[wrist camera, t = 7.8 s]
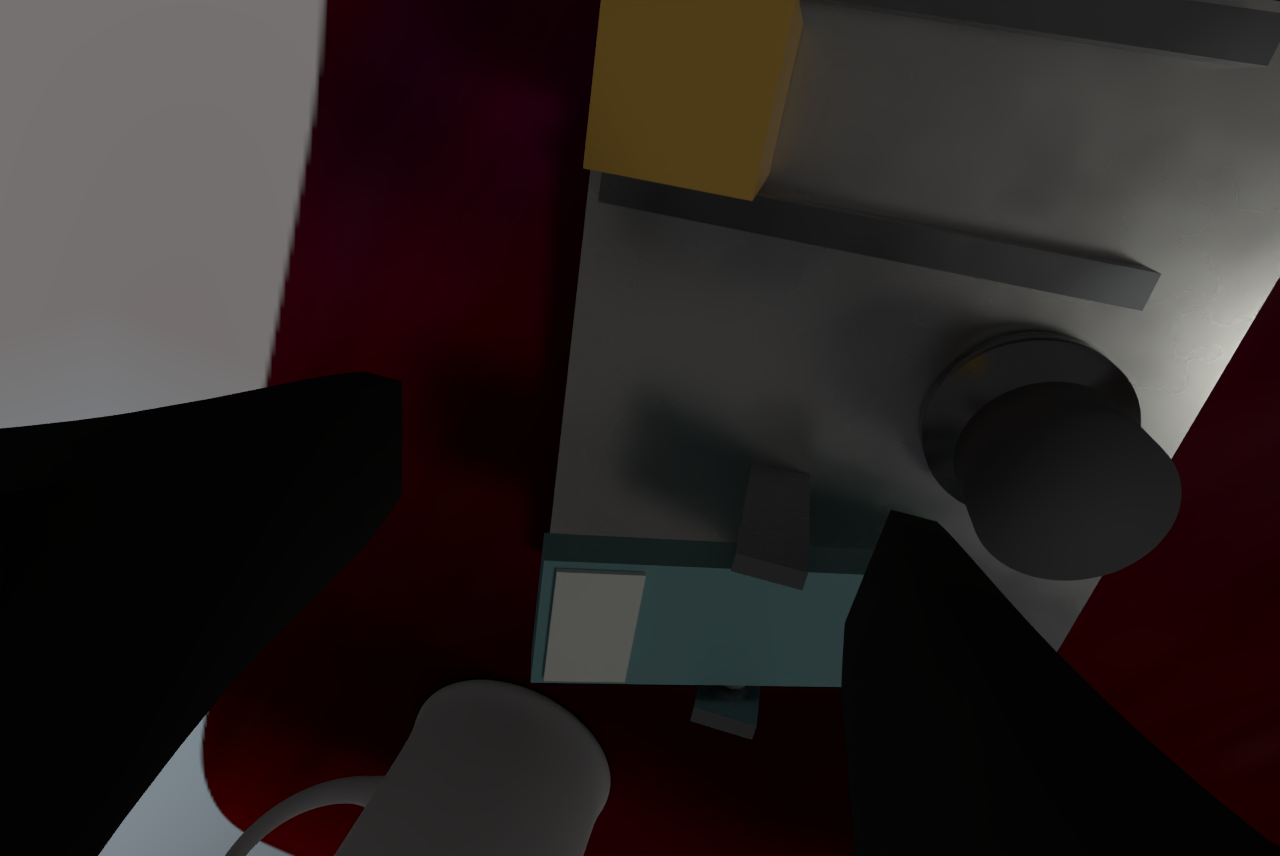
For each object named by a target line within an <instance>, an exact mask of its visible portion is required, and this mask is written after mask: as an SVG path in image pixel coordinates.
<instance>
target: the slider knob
mask: <svg viewBox="0 0 1280 856" xmlns="http://www.w3.org/2000/svg"><path fill="white" fill-rule="evenodd" d="M802 27H803V19H802V14H801V8H800V2H799V0H601V5H600V14H599V23H598V33H597V42H596V51H595V61H594V70H593V80H592V89H591V98H590V108H589V117H588V126H587V136H586V145H585V154H584V164H583V168H584V169H589V170H595V171H600V172H605V173H610V174H615V175H620V176H626V177H631V178H636V179H641V180H646V181H651V182H656V183H662V184H667V185H672V186H677V187H682V188H687V189H692V190H698V191H703V192H708V193H713V194H718V195H723V196H728V197H734V198H739V199H744V200H749V201H753V199H754V198H755V196H756V195H757V193H758V191H759V190H760V188H761V187H762V185H763V184H764V182H765V181H766V179H767V177H768V176H769V172H770V168H771V164H772V159H773V155H774V150H775V146H776V141H777V137H778V133H779V128H780V124H781V119H782V115H783V111H784V106H785V102H786V97H787V93H788V89H789V84H790V80H791V75H792V71H793V66H794V62H795V58H796V53H797V49H798V44H799V40H800V36H801V31H802Z"/></svg>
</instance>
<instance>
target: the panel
mask: <svg viewBox="0 0 1280 856" xmlns="http://www.w3.org/2000/svg"><path fill="white" fill-rule="evenodd" d="M799 2H800V8H801V14H802V19H803V27H802V31H801V36H800V40H799V44H798V49H797V53H796V58H795V62H794V66H793V71H792V75H791V80H790V84H789V89H788V93H787V97H786V102H785V106H784V111H783V115H782V119H781V124H780V128H779V133H778V137H777V141H776V146H775V150H774V155H773V159H772V164H771V168H770V172H769V176H768V177H767V179H766V181H765V182H764V184H763V185H762V187H761V188H760V190H759V191H758V193H757V195H756V196H755V198H754V199H753V201H749V200H744V199H739V198H734V197H728V196H723V195H718V194H713V193H708V192H703V191H698V190H692V189H687V188H682V187H677V186H672V185H667V184H662V183H656V182H651V181H646V180H641V179H636V178H631V177H626V176H620V175H615V174H610V173H605V172H600V171H595V170H590V178H589V187H588V196H587V205H586V214H585V223H584V232H583V241H582V250H581V259H580V268H579V277H578V286H577V295H576V304H575V313H574V322H573V331H572V340H571V349H570V358H569V367H568V376H567V385H566V394H565V403H564V411H563V420H562V429H561V438H560V447H559V456H558V465H557V474H556V483H555V492H554V501H553V510H552V519H551V528H550V533H558V534H577V535H597V536H616V537H636V538H655V539H675V540H694V541H714V542H733V543H736V546H735V551H734V556H733V562H732V567H731V571H732V572H736V573H739V574H743V575H747V576H750V577H754V578H758V579H761V580H765V581H769V582H773V583H776V584H780V585H784V586H787V587H791V588H795V589H798V590H803V587H804V584H805V581H806V578H807V575H808V567H809V546H811V547H831V548H850V549H869V550H874V549H875V547H876V544H877V542H878V539H879V537H880V535H881V532H882V530H883V527H884V525H885V522H886V520H887V517H888V515H889V512H890V510H895V511H899V512H903V513H906V514H910V515H914V516H918V517H922V518H925V519H929V520H933V521H937V522H938V523H939V524H940V525H941V526H942V527H943V528H944V529H945V530H946V531H947V532H948V533H949V534H950V535H951V536H952V537H953V538H954V539H955V540H956V541H957V542H958V543H959V545H960V546H961V547H962V548H963V549H964V550H965V551H966V552H967V553H968V555H969V556H970V557H971V558H972V559H973V560H974V561H975V563H976V564H977V565H978V566H979V567H980V568H981V569H982V571H983V572H984V573H985V574H986V575H987V576H988V577H989V579H990V580H991V581H992V582H993V583H994V584H995V585H996V586H997V588H998V589H999V590H1000V591H1001V592H1002V593H1003V594H1004V595H1005V597H1006V598H1007V599H1008V600H1009V601H1010V602H1011V603H1012V604H1013V606H1014V607H1015V608H1016V609H1017V610H1018V611H1019V612H1020V613H1021V614H1022V615H1023V617H1024V618H1025V619H1026V620H1027V621H1028V622H1029V623H1030V624H1031V625H1032V626H1033V627H1034V628H1035V630H1036V631H1037V632H1038V633H1039V634H1040V635H1041V636H1042V637H1043V638H1044V639H1045V640H1046V641H1047V642H1048V643H1049V644H1050V645H1051V646H1052V648H1053V649H1054V650H1055V651H1056V652H1057V651H1058V649H1059V647H1060V646H1061V644H1062V642H1063V641H1064V639H1065V637H1066V636H1067V634H1068V632H1069V631H1070V629H1071V627H1072V625H1073V624H1074V622H1075V620H1076V619H1077V617H1078V615H1079V614H1080V612H1081V610H1082V609H1083V607H1084V605H1085V604H1086V602H1087V600H1088V598H1089V597H1090V595H1091V593H1092V592H1093V590H1094V588H1095V587H1096V585H1097V583H1098V582H1099V580H1100V578H1101V577H1102V576H1099V577H1095V578H1090V579H1084V580H1073V581H1057V580H1047V579H1041V578H1036V577H1032V576H1029V575H1026V574H1023V573H1020V572H1018V571H1016V570H1013V569H1011V568H1009V567H1008V566H1006V565H1004V564H1003V563H1001V562H1000V561H998V560H997V559H996V558H995V557H993V556H992V555H991V554H990V553H989V552H988V551H987V550H986V549H985V547H984V546H983V544H982V543H981V542H980V540H979V538H978V536H977V534H976V532H975V530H974V527H973V525H972V522H971V519H970V516H969V514H968V511H967V508H966V505H965V503H964V500H963V497H962V494H961V492H960V489H959V486H958V484H957V480H956V477H955V473H954V467H953V460H954V451H955V447H956V444H957V441H958V438H959V436H960V434H961V432H962V430H963V428H964V427H965V425H966V424H967V423H968V421H969V420H970V419H971V418H972V417H973V415H974V414H975V413H976V412H977V411H978V410H980V409H981V408H982V407H983V406H984V405H986V404H987V403H988V402H990V401H991V400H993V399H994V398H996V397H998V396H1000V395H1002V394H1004V393H1005V392H1008V391H1010V390H1013V389H1015V388H1018V387H1022V386H1025V385H1029V384H1034V383H1040V382H1053V381H1054V382H1070V383H1076V384H1081V385H1084V386H1088V387H1091V388H1093V389H1096V390H1098V391H1100V392H1102V393H1104V394H1105V395H1107V396H1109V397H1110V398H1112V399H1113V400H1114V401H1115V402H1117V403H1118V404H1119V405H1120V406H1121V407H1122V408H1123V409H1124V410H1125V411H1126V412H1127V413H1128V414H1129V415H1130V416H1131V417H1132V418H1133V419H1134V420H1135V421H1136V422H1137V423H1138V424H1139V425H1140V426H1141V427H1142V428H1143V429H1144V430H1145V431H1146V432H1147V433H1148V434H1149V435H1150V436H1151V437H1152V438H1153V439H1154V440H1155V441H1156V442H1157V443H1158V444H1159V445H1160V446H1161V447H1162V449H1163V450H1164V451H1165V452H1166V453H1167V454H1168V455H1169V457H1170V458H1172V457H1173V455H1174V453H1175V452H1176V450H1177V448H1178V447H1179V445H1180V443H1181V442H1182V440H1183V438H1184V436H1185V435H1186V433H1187V431H1188V430H1189V428H1190V426H1191V425H1192V423H1193V421H1194V420H1195V418H1196V416H1197V415H1198V413H1199V411H1200V409H1201V408H1202V406H1203V404H1204V403H1205V401H1206V399H1207V398H1208V396H1209V394H1210V393H1211V391H1212V389H1213V388H1214V386H1215V384H1216V382H1217V381H1218V379H1219V377H1220V376H1221V374H1222V372H1223V371H1224V369H1225V367H1226V366H1227V364H1228V362H1229V361H1230V359H1231V357H1232V355H1233V354H1234V352H1235V350H1236V349H1237V347H1238V345H1239V344H1240V342H1241V340H1242V339H1243V337H1244V335H1245V334H1246V332H1247V330H1248V328H1249V327H1250V325H1251V323H1252V322H1253V320H1254V318H1255V317H1256V315H1257V313H1258V312H1259V310H1260V308H1261V307H1262V305H1263V303H1264V301H1265V300H1266V298H1267V296H1268V295H1269V293H1270V291H1271V290H1272V288H1273V286H1274V285H1275V283H1276V281H1277V280H1278V278H1279V276H1280V1H1275V0H799ZM759 695H760V686H745V687H743V688H741V689H730V688H727V687H725V686H723V685H697V690H696V695H695V700H694V705H693V710H692V715H691V720H690V721H692V722H695V723H699V724H702V725H705V726H708V727H712V728H715V729H718V730H722V731H725V732H728V733H732V734H735V735H738V736H741V737H745V738H748V739H751V740H752V738H753V735H754V732H755V729H756V726H757V716H758V706H759Z"/></svg>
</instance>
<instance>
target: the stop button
mask: <svg viewBox="0 0 1280 856" xmlns="http://www.w3.org/2000/svg"><path fill="white" fill-rule="evenodd" d="M953 467H954V473H955V477H956V480H957V484H958V486H959V489H960V492H961V494H962V497H963V500H964V503H965V505H966V508H967V511H968V514H969V516H970V519H971V522H972V525H973V527H974V530H975V532H976V534H977V536H978V538H979V540H980V542H981V543H982V544H983V546H984V547H985V549H986V550H987V551H988V552H989V553H990V554H991V555H992V556H993V557H995V558H996V559H997V560H998V561H1000V562H1001V563H1003V564H1004V565H1006V566H1008V567H1009V568H1011V569H1013V570H1016V571H1018V572H1020V573H1023V574H1026V575H1029V576H1032V577H1036V578H1041V579H1047V580H1057V581H1073V580H1084V579H1090V578H1095V577H1099V576H1103V575H1106V574H1110V573H1113V572H1115V571H1118V570H1120V569H1123V568H1125V567H1127V566H1129V565H1131V564H1133V563H1134V562H1136V561H1138V560H1139V559H1141V558H1142V557H1144V556H1145V555H1146V554H1148V553H1149V552H1150V551H1151V550H1152V549H1154V548H1155V547H1156V546H1157V545H1158V544H1159V543H1160V542H1161V541H1162V540H1163V538H1164V537H1165V536H1166V534H1167V533H1168V532H1169V530H1170V529H1171V527H1172V525H1173V523H1174V521H1175V519H1176V517H1177V514H1178V511H1179V508H1180V503H1181V483H1180V478H1179V474H1178V472H1177V469H1176V467H1175V465H1174V463H1173V461H1172V460H1171V458H1170V457H1169V455H1168V454H1167V453H1166V452H1165V451H1164V450H1163V449H1162V447H1161V446H1160V445H1159V444H1158V443H1157V442H1156V441H1155V440H1154V439H1153V438H1152V437H1151V436H1150V435H1149V434H1148V433H1147V432H1146V431H1145V430H1144V429H1143V428H1142V427H1141V426H1140V425H1139V424H1138V423H1137V422H1136V421H1135V420H1134V419H1133V418H1132V417H1131V416H1130V415H1129V414H1128V413H1127V412H1126V411H1125V410H1124V409H1123V408H1122V407H1121V406H1120V405H1119V404H1118V403H1117V402H1115V401H1114V400H1113V399H1112V398H1110V397H1109V396H1107V395H1105V394H1104V393H1102V392H1100V391H1098V390H1096V389H1093V388H1091V387H1088V386H1084V385H1081V384H1076V383H1070V382H1054V381H1053V382H1040V383H1034V384H1029V385H1025V386H1022V387H1018V388H1015V389H1013V390H1010V391H1008V392H1005V393H1004V394H1002V395H1000V396H998V397H996V398H994V399H993V400H991V401H990V402H988V403H987V404H986V405H984V406H983V407H982V408H981V409H980V410H978V411H977V412H976V413H975V414H974V415H973V417H972V418H971V419H970V420H969V421H968V423H967V424H966V425H965V427H964V428H963V430H962V432H961V434H960V436H959V438H958V441H957V444H956V447H955V451H954V460H953Z"/></svg>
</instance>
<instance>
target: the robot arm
mask: <svg viewBox="0 0 1280 856" xmlns="http://www.w3.org/2000/svg"><path fill="white" fill-rule="evenodd" d="M401 444H402V381H399V380H395V379H391V378H387V377H383V376H380V375H376V374H372V373H368V372H352V373H342V374H335V375H329V376H323V377H317V378H312V379H306V380H301V381H296V382H291V383H286V384H281V385H276V386H271V387H266V388H261V389H256V390H251V391H246V392H242V393H237V394H232V395H227V396H222V397H217V398H212V399H206V400H200V401H195V402H189V403H183V404H177V405H172V406H166V407H160V408H156V409H149V410H143V411H138V412H132V413H126V414H120V415H113V416H106V417H99V418H91V419H84V420H76V421H68V422H59V423H50V424H41V425H32V426H22V427H12V428H1V429H0V856H98V855H99V854H100V852H101V851H102V849H103V848H104V846H105V845H106V844H107V842H108V841H109V840H110V838H111V837H112V835H113V834H114V833H115V831H116V830H117V828H118V827H119V826H120V824H121V823H122V821H123V820H124V819H125V817H126V816H127V815H128V813H129V812H130V811H131V810H132V808H133V807H134V806H135V804H136V803H137V802H138V800H139V799H140V798H141V796H142V795H143V793H145V791H146V790H147V789H148V787H149V786H150V785H151V783H152V782H153V781H154V780H155V778H156V777H157V776H158V774H159V773H160V772H161V770H162V769H163V768H164V766H165V765H166V764H167V762H168V761H169V760H170V759H171V757H172V756H173V755H174V753H175V752H176V751H177V750H178V748H179V747H180V746H181V744H182V743H183V742H184V741H185V739H186V738H187V737H188V736H189V735H190V733H191V732H192V731H193V730H194V728H195V727H196V726H197V725H198V724H199V722H200V721H201V720H202V719H203V717H204V716H205V715H206V714H207V712H208V711H209V710H210V709H211V708H212V706H213V705H214V704H215V703H216V701H217V700H218V699H219V698H220V696H221V695H222V694H223V693H224V692H225V690H226V689H227V688H228V687H229V685H230V684H231V683H232V682H233V681H234V680H235V679H236V678H237V677H238V675H239V674H240V673H241V672H242V671H243V670H244V669H245V668H246V667H247V666H248V665H249V663H250V662H251V661H252V660H253V659H254V658H255V657H256V656H257V655H258V654H259V653H260V652H261V651H262V650H263V649H264V648H265V647H266V646H267V645H268V644H269V643H270V642H271V641H272V640H273V639H274V638H275V637H276V636H277V635H278V634H279V633H280V632H281V631H282V630H283V629H284V628H285V627H286V626H287V625H288V624H289V623H290V622H291V621H292V620H293V619H294V618H295V617H296V616H297V615H298V614H299V613H300V612H301V611H302V610H303V609H304V608H305V607H306V606H307V605H308V604H309V603H310V602H311V601H312V600H313V599H314V598H315V597H316V596H317V595H318V594H319V593H320V592H321V591H322V590H323V589H324V588H325V587H326V586H327V585H328V584H329V583H330V581H331V580H332V579H333V578H334V577H335V576H336V575H337V574H338V573H339V572H340V571H341V570H342V569H343V568H344V567H345V566H346V565H347V564H348V563H349V562H350V561H351V560H352V559H353V558H354V557H355V556H356V555H357V554H358V553H359V551H360V550H361V549H362V548H363V547H364V546H365V545H366V544H367V542H368V541H369V540H370V538H371V537H372V536H373V535H374V533H375V532H376V531H377V529H378V528H379V527H380V525H381V524H382V523H383V521H384V520H385V518H386V517H387V516H388V514H389V513H390V511H391V510H392V508H393V507H394V506H395V504H396V503H397V501H398V500H399V499H400V497H401ZM841 693H842V707H843V720H844V732H845V745H846V756H847V768H848V780H849V791H850V803H851V814H852V826H853V838H854V849H855V856H1280V849H1279V848H1278V847H1277V846H1275V845H1274V844H1273V843H1272V842H1270V841H1269V840H1268V839H1266V838H1265V837H1264V836H1263V835H1261V834H1260V833H1259V832H1257V831H1256V830H1255V829H1254V828H1252V827H1251V826H1250V825H1248V824H1247V823H1246V822H1245V821H1243V820H1242V819H1241V818H1239V817H1238V816H1237V815H1236V814H1235V813H1233V812H1232V811H1231V810H1230V809H1229V808H1227V807H1226V806H1225V805H1224V804H1222V803H1221V802H1220V801H1219V800H1218V799H1216V798H1215V797H1214V796H1213V795H1211V794H1210V793H1209V792H1208V791H1207V790H1205V789H1204V788H1203V787H1202V786H1201V785H1199V784H1198V783H1197V782H1196V781H1195V780H1193V779H1192V778H1191V777H1190V776H1189V775H1188V774H1187V773H1185V772H1184V771H1183V770H1182V769H1181V768H1180V767H1179V766H1177V765H1176V764H1175V763H1174V762H1173V761H1172V760H1171V759H1169V758H1168V757H1167V756H1166V755H1165V754H1164V753H1163V752H1162V751H1160V750H1159V749H1158V748H1157V747H1156V746H1155V745H1154V744H1152V743H1151V742H1150V741H1149V740H1148V739H1147V738H1146V737H1144V736H1143V735H1142V734H1141V733H1140V732H1139V731H1138V730H1136V729H1135V728H1134V727H1133V726H1132V725H1131V724H1130V723H1129V722H1128V721H1127V720H1126V719H1124V718H1123V717H1122V716H1121V715H1120V714H1119V713H1118V712H1117V711H1116V710H1115V709H1114V708H1113V707H1112V706H1111V705H1109V704H1108V703H1107V702H1106V701H1105V700H1104V699H1103V698H1102V697H1101V696H1100V695H1099V694H1098V693H1097V692H1096V691H1095V690H1094V689H1093V688H1092V687H1091V686H1090V685H1089V684H1088V683H1087V682H1086V681H1085V680H1084V679H1083V678H1082V677H1081V676H1080V675H1079V674H1078V673H1077V672H1076V671H1075V670H1074V669H1073V668H1072V667H1071V666H1070V665H1069V664H1068V663H1067V662H1066V661H1065V660H1064V659H1063V658H1062V657H1061V656H1060V655H1059V654H1058V653H1057V652H1056V651H1055V650H1054V649H1053V648H1052V646H1051V645H1050V644H1049V643H1048V642H1047V641H1046V640H1045V639H1044V638H1043V637H1042V636H1041V635H1040V634H1039V633H1038V632H1037V631H1036V630H1035V628H1034V627H1033V626H1032V625H1031V624H1030V623H1029V622H1028V621H1027V620H1026V619H1025V618H1024V617H1023V615H1022V614H1021V613H1020V612H1019V611H1018V610H1017V609H1016V608H1015V607H1014V606H1013V604H1012V603H1011V602H1010V601H1009V600H1008V599H1007V598H1006V597H1005V595H1004V594H1003V593H1002V592H1001V591H1000V590H999V589H998V588H997V586H996V585H995V584H994V583H993V582H992V581H991V580H990V579H989V577H988V576H987V575H986V574H985V573H984V572H983V571H982V569H981V568H980V567H979V566H978V565H977V564H976V563H975V561H974V560H973V559H972V558H971V557H970V556H969V555H968V553H967V552H966V551H965V550H964V549H963V548H962V547H961V546H960V545H959V543H958V542H957V541H956V540H955V539H954V538H953V537H952V536H951V535H950V534H949V533H948V532H947V531H946V530H945V529H944V528H943V527H942V526H941V525H940V524H939V523H938V522H937V521H933V520H929V519H925V518H922V517H918V516H914V515H910V514H906V513H903V512H899V511H895V510H890V512H889V515H888V517H887V520H886V522H885V525H884V527H883V530H882V532H881V535H880V537H879V539H878V542H877V544H876V547H875V549H874V552H873V554H872V557H871V559H870V562H869V564H868V567H867V569H866V572H865V574H864V576H863V579H862V581H861V584H860V586H859V589H858V591H857V594H856V596H855V599H854V601H853V604H852V606H851V608H850V611H849V613H848V616H847V618H846V621H845V626H844V642H843V657H842V681H841Z"/></svg>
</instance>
